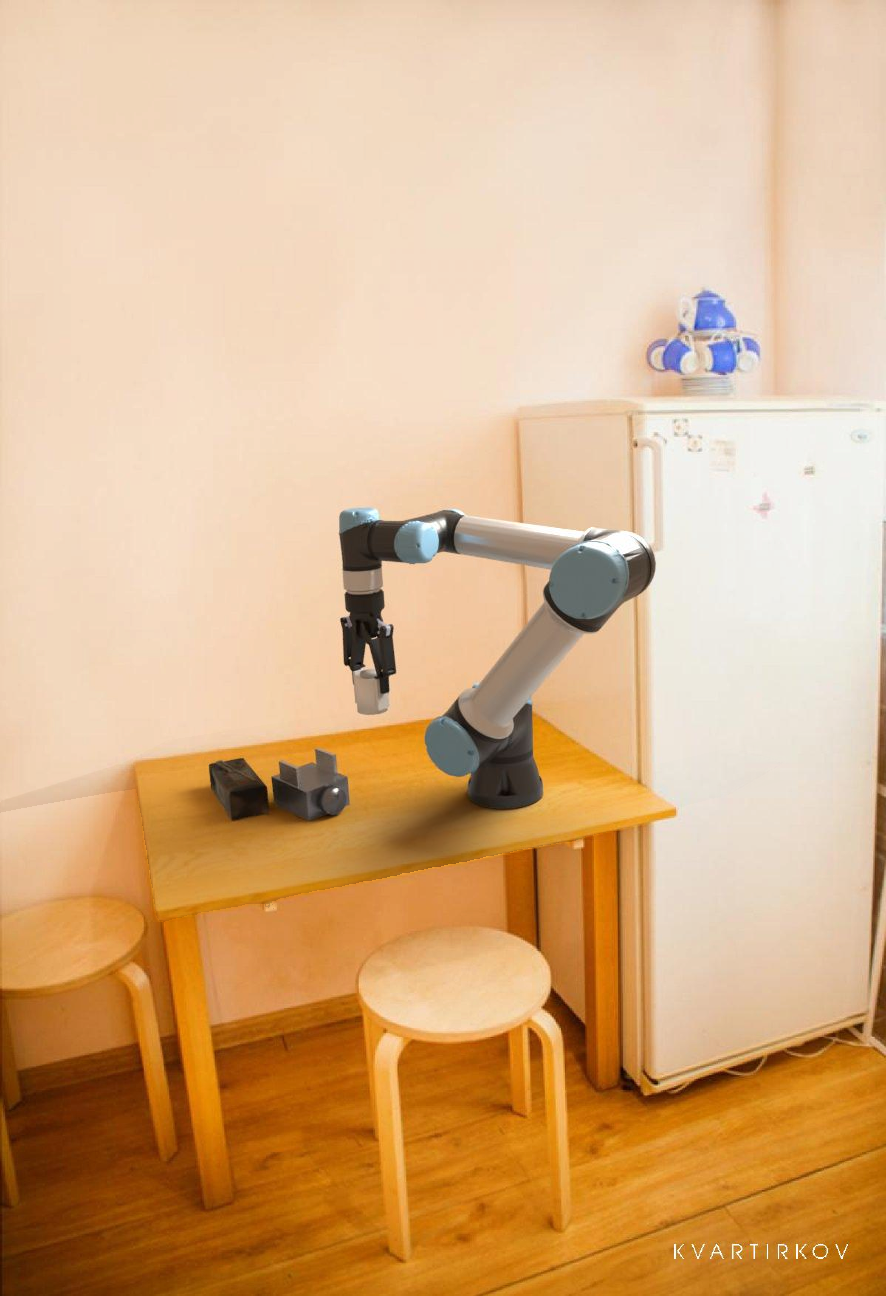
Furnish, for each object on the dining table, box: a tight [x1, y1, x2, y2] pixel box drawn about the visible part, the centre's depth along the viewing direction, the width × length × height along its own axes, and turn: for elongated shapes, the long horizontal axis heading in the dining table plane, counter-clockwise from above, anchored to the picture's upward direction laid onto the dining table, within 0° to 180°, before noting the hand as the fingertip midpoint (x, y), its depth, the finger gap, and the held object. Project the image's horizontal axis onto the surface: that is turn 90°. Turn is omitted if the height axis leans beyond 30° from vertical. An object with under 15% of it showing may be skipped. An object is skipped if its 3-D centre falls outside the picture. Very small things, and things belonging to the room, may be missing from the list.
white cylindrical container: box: [355, 668, 389, 716], centre depth 194 cm, size 6×6×8 cm
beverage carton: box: [208, 757, 270, 821], centre depth 201 cm, size 8×19×7 cm, turn 25°
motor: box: [270, 747, 351, 822], centre depth 196 cm, size 14×10×10 cm
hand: (372, 704), depth 194 cm, fingers closed on white cylindrical container, 6 cm apart
